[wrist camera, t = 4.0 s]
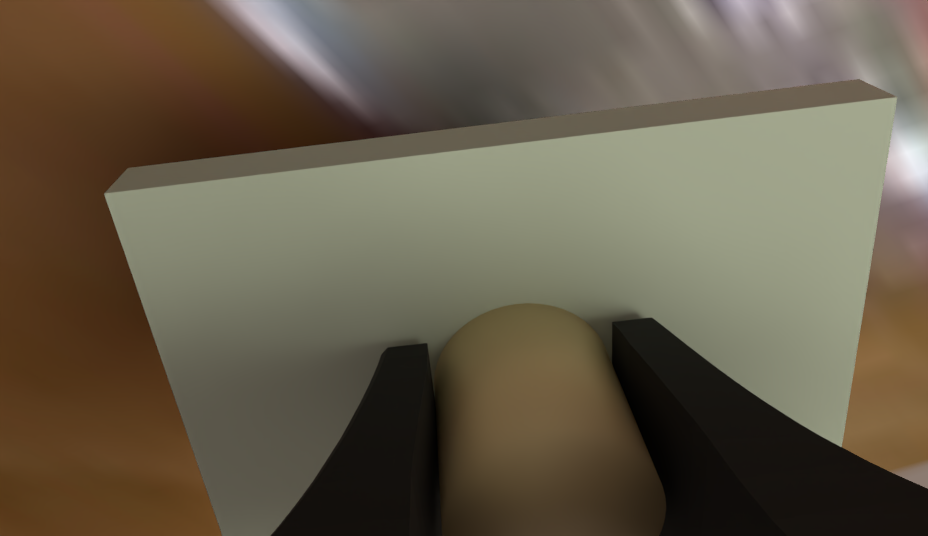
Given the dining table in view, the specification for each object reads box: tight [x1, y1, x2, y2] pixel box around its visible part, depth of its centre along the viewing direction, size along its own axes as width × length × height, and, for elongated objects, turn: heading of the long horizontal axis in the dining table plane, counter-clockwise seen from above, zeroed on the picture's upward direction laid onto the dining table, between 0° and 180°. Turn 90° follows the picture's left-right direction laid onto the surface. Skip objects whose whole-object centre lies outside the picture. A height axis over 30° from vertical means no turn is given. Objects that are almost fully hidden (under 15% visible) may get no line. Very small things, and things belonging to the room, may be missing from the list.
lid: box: [104, 79, 897, 536], centre depth 11 cm, size 8×11×4 cm
